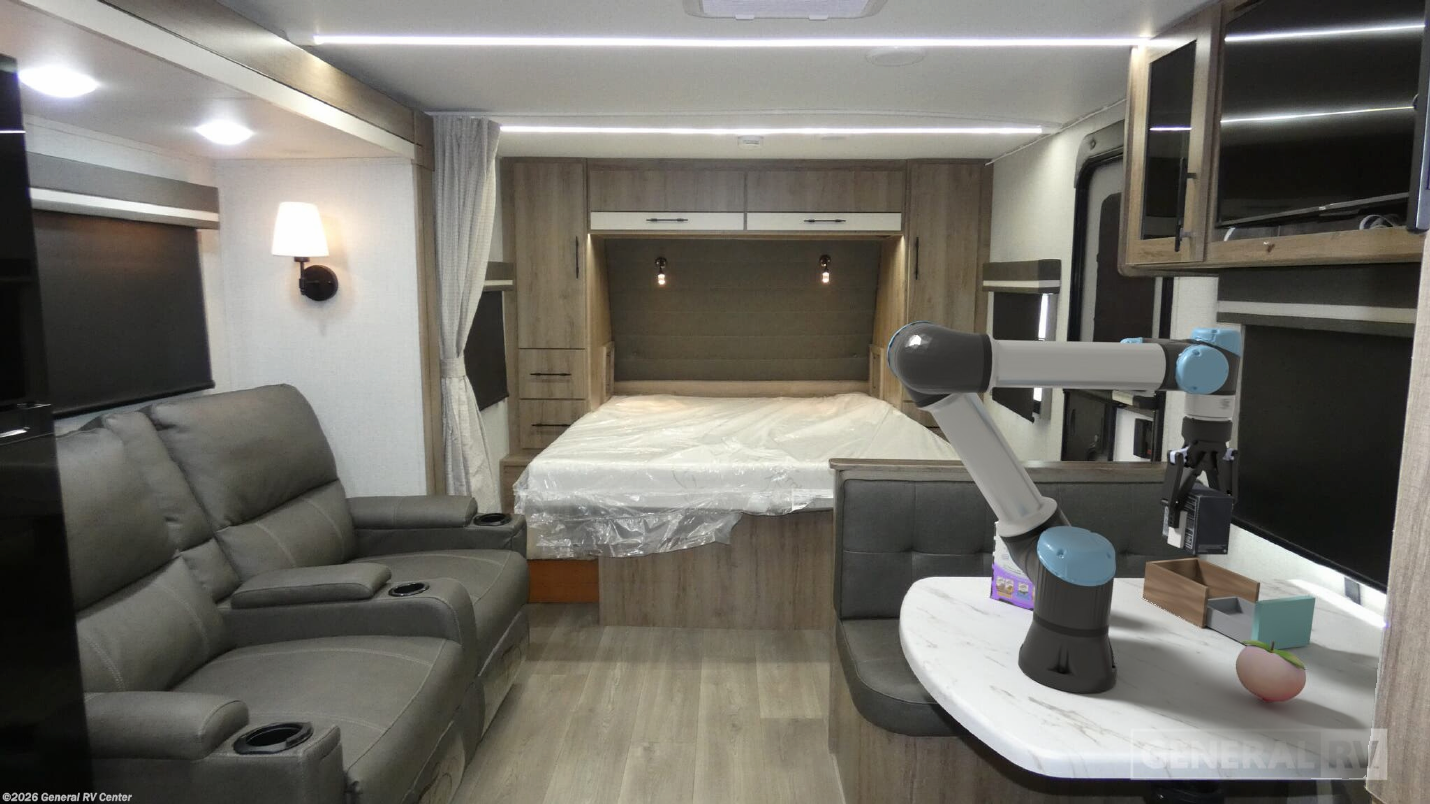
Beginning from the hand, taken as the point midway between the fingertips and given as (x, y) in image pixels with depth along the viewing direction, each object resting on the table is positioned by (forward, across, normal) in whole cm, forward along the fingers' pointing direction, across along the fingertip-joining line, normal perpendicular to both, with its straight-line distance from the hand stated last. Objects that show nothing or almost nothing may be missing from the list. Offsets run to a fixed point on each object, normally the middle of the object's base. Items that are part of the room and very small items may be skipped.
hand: (1193, 543), depth 145 cm
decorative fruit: (+19, -4, -20) cm, 28 cm away
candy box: (+19, -16, +23) cm, 34 cm away
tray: (+19, +16, +2) cm, 25 cm away
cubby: (+19, +16, +12) cm, 28 cm away
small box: (+1, 0, 0) cm, 1 cm away
